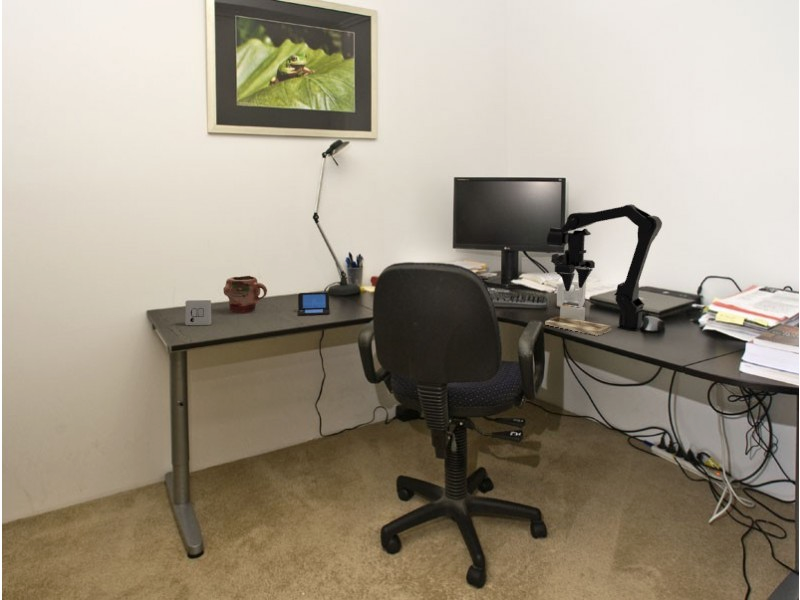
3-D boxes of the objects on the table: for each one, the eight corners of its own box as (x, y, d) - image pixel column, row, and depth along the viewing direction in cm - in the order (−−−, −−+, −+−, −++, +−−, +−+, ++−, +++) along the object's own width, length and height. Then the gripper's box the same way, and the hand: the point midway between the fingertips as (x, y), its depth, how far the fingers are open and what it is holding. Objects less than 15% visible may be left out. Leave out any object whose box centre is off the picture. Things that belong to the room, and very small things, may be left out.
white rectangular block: (584, 320, 209) (585, 306, 208) (579, 322, 207) (579, 308, 206) (565, 317, 215) (566, 303, 214) (559, 318, 212) (560, 305, 211)
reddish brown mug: (275, 308, 233) (273, 275, 231) (262, 315, 222) (260, 280, 219) (232, 306, 238) (229, 274, 235) (216, 313, 226) (214, 279, 223)
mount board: (611, 330, 195) (611, 324, 194) (597, 336, 188) (597, 330, 188) (560, 320, 209) (560, 315, 208) (545, 325, 202) (545, 320, 202)
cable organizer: (582, 310, 225) (584, 281, 223) (555, 308, 229) (556, 280, 227) (585, 302, 239) (586, 275, 237) (559, 301, 243) (560, 274, 240)
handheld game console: (297, 316, 220) (296, 298, 219) (298, 310, 231) (297, 293, 229) (330, 315, 222) (329, 297, 220) (329, 309, 232) (328, 291, 231)
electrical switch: (184, 326, 207) (183, 301, 206) (190, 323, 212) (188, 299, 211) (210, 325, 207) (209, 300, 206) (214, 323, 212) (213, 299, 211)
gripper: (569, 243, 217) (567, 283, 220) (542, 248, 205) (541, 290, 208) (596, 245, 209) (594, 286, 212) (569, 250, 197) (568, 293, 200)
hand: (574, 289), depth 208 cm, fingers open, 9 cm apart
